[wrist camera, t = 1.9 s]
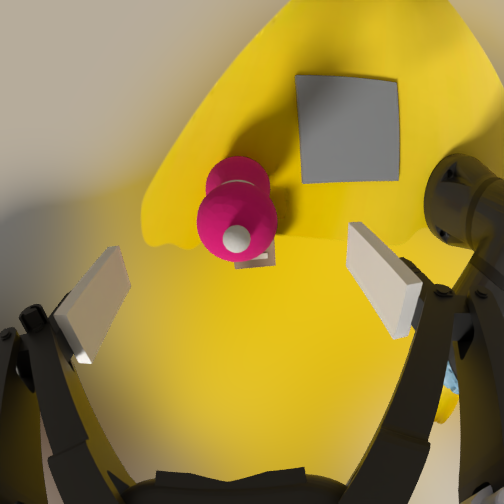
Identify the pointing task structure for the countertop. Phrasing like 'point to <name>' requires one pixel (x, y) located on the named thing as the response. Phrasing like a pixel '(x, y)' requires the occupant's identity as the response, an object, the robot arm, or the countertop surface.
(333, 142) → the grey mat
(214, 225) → the pepper mill
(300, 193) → the countertop surface
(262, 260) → the marked cube
